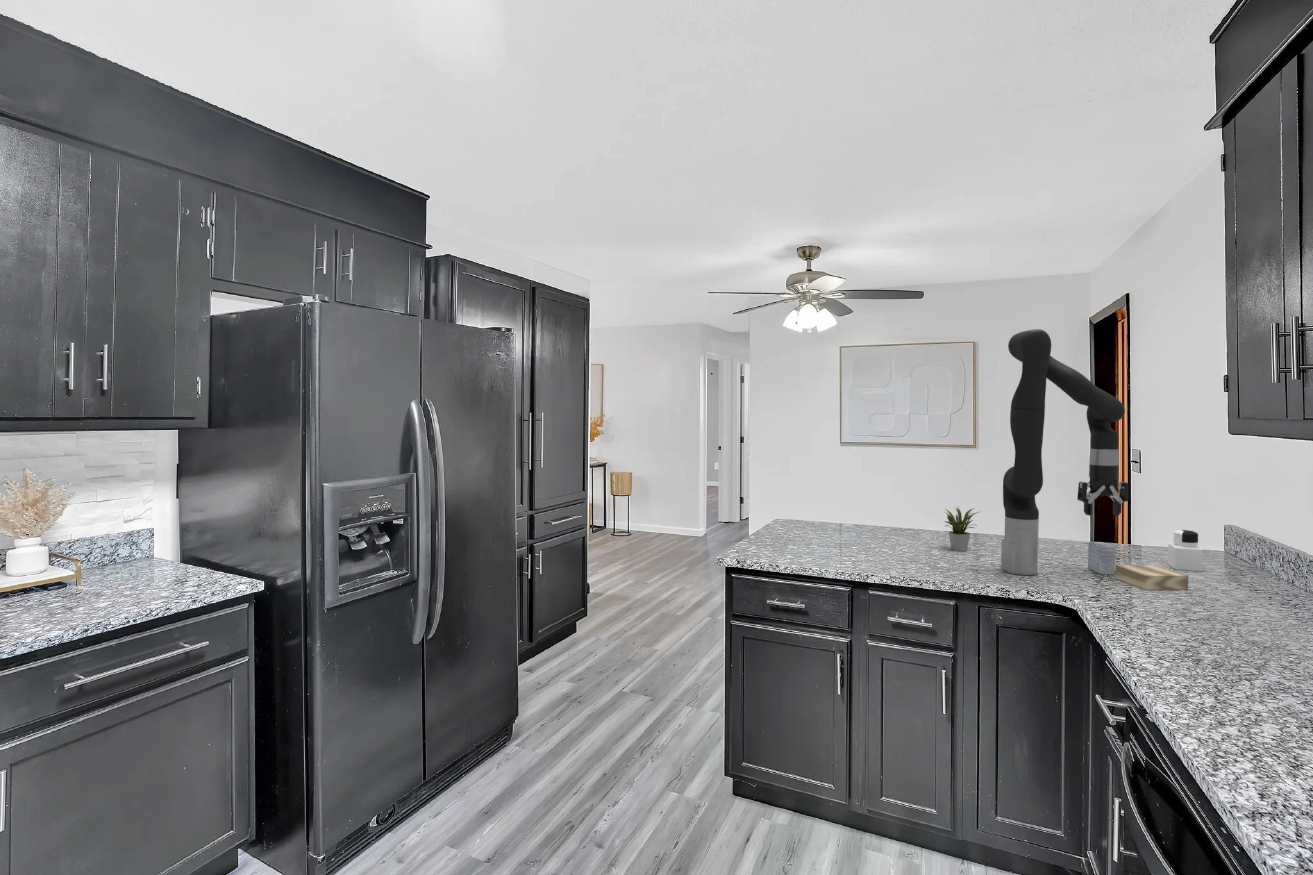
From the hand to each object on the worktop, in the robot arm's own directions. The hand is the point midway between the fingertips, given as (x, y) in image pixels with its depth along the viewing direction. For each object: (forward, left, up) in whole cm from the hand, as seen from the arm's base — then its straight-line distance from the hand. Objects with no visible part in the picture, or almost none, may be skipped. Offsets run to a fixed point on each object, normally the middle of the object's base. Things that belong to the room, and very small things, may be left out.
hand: (1102, 515), depth 201 cm
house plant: (-29, +31, -18) cm, 46 cm away
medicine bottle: (+29, +4, -18) cm, 34 cm away
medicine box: (0, 0, -18) cm, 18 cm away
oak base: (+5, -14, -18) cm, 23 cm away
